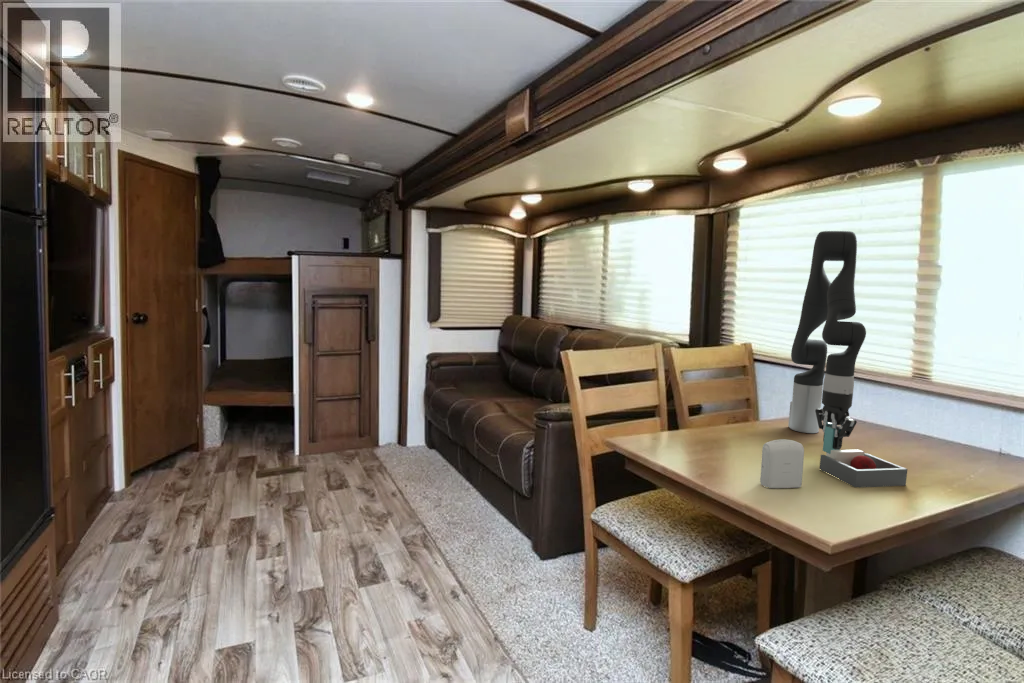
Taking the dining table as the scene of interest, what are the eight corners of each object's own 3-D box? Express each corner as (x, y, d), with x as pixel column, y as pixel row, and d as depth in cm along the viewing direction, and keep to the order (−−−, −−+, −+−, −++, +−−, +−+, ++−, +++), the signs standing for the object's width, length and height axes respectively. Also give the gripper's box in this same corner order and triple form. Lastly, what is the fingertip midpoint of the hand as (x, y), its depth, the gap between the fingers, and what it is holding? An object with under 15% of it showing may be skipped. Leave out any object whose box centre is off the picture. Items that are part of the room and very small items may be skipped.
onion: (839, 461, 148) (862, 472, 140) (854, 447, 148) (877, 457, 140) (851, 475, 149) (874, 486, 141) (865, 461, 149) (889, 471, 141)
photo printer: (766, 489, 134) (770, 442, 133) (756, 483, 139) (760, 437, 137) (804, 489, 135) (808, 442, 134) (793, 482, 140) (797, 437, 138)
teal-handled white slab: (812, 459, 156) (816, 426, 155) (839, 458, 158) (843, 425, 156) (834, 469, 148) (838, 435, 147) (862, 468, 149) (866, 434, 148)
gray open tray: (819, 470, 150) (820, 454, 149) (865, 468, 152) (867, 453, 152) (855, 487, 137) (857, 470, 137) (905, 485, 139) (907, 469, 139)
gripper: (809, 384, 159) (803, 440, 161) (845, 395, 145) (838, 455, 148) (831, 384, 160) (825, 439, 163) (869, 395, 147) (862, 454, 149)
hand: (832, 446), depth 155 cm, fingers closed on teal-handled white slab, 3 cm apart
